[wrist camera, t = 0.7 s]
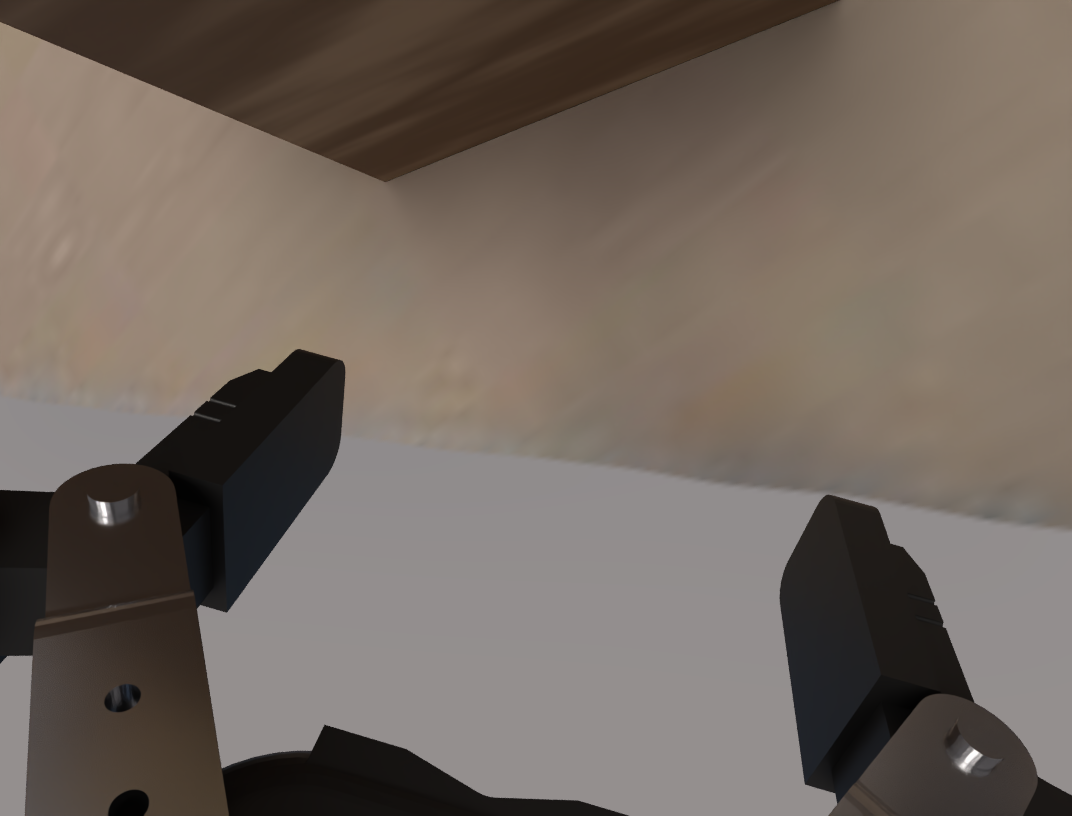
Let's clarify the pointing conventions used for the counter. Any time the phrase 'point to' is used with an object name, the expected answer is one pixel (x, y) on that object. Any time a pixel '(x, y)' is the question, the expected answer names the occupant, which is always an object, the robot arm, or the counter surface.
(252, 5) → the zigzag wood block
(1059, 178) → the counter surface
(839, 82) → the counter surface
